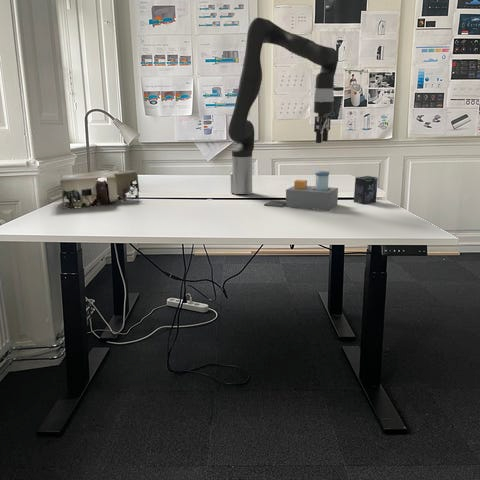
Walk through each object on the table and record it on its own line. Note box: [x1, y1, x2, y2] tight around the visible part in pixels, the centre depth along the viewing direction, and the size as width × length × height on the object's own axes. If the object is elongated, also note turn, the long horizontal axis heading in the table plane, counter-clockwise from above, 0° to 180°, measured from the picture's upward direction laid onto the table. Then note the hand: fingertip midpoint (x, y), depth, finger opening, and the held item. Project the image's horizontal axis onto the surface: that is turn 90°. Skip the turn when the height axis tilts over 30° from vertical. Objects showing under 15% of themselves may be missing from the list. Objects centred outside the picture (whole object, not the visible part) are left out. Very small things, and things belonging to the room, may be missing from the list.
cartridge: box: [314, 170, 330, 191], centre depth 196 cm, size 5×5×12 cm
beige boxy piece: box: [59, 169, 140, 209], centre depth 208 cm, size 18×32×13 cm, turn 108°
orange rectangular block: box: [293, 179, 308, 189], centre depth 200 cm, size 4×4×5 cm
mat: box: [263, 200, 286, 208], centre depth 203 cm, size 8×8×1 cm
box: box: [353, 175, 379, 205], centre depth 204 cm, size 8×6×11 cm
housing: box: [285, 185, 339, 211], centre depth 199 cm, size 18×12×7 cm, turn 63°
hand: (321, 142), depth 199 cm, fingers open, 8 cm apart
